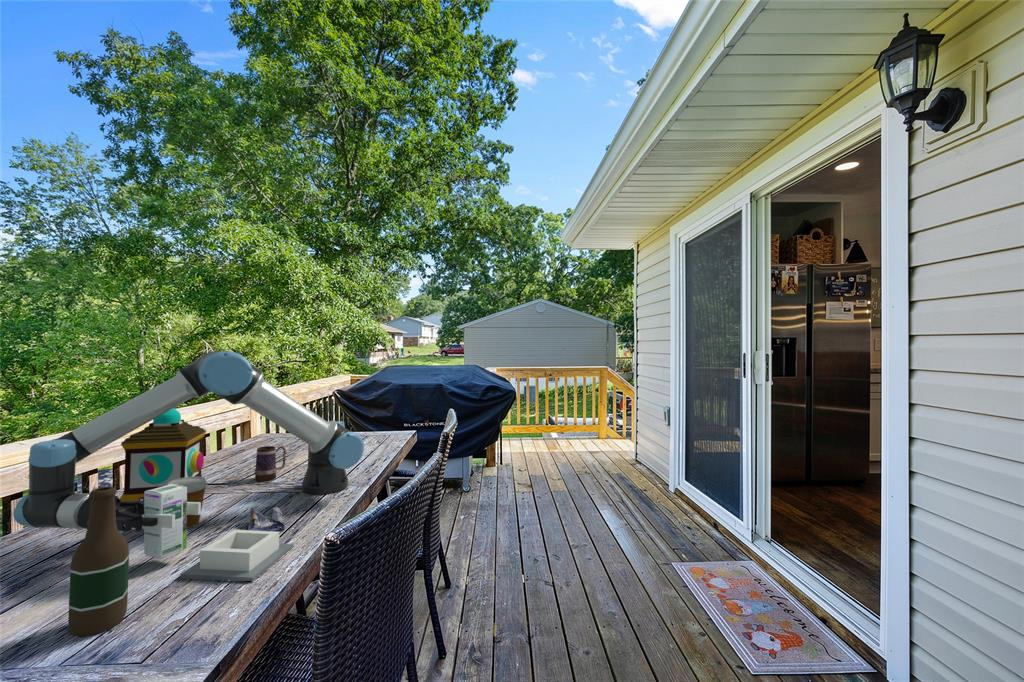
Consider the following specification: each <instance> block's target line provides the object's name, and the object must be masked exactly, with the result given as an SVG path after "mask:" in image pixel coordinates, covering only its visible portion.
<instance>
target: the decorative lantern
mask: <svg viewBox="0 0 1024 682" xmlns="http://www.w3.org/2000/svg"><path fill="white" fill-rule="evenodd" d="M206 433H207V430H206V429H204V428H203V427H201V426H200V425H193V424H191V423H190V424H189V422H187V421H185V419H182V415H181V412H180V411H178V409H176V407H174V408H173V409H171V410H169V411H167V412H166V413H164V414H162V415H160V416H158V417H157V418H155V419H153V420H152V422H151V423H150V422H149V423H148V426H145V427H144V429H141V430H140V431H138V432H135V433H133V434H131V435H130V436H128V437H127V438H124V440H123V441H121V443H120V445H121V447H122V449H123V450H124V453H125V455H124V456H125V457H124V478H123V480H124V483H123V493H122V495H121V496H120V497H119V499H120V500H121V501H139V498H141V497H144V492H145V491H148V490H152V489H155V488H159V487H163V486H167V483H168V482H170V481H172V480H175V479H180V478H186V477H203V475H202V468H203V467H204V461H205V459H204V458H205V457H204V455H203V439H204V437H205V435H206Z"/></svg>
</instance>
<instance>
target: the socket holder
mask: <svg viewBox="0 0 1024 682" xmlns="http://www.w3.org/2000/svg"><path fill="white" fill-rule="evenodd" d="M294 546H295V544H292V543H291V544H289V543H280V531H278V532H274V531H253V530H247V529H234V530H232V531H230V532H229V533H227V534H225V535H224V536H222V537H220V538H219V539H217V540H216V541H214V542H212V543H210V544H208V545H207V546H205V547H204V548H202V549H200V550H199V561H198V562H197V563H195V564H193V565H192V566H191V567H189V568H187V569H186V570H184V571H182V572H181V573H180V576H179V577H180V579H181V580H198V581H199V580H200V581H201V580H202V581H217V580H230V581H229V582H236V581H254V580H255V579H256V578H257V577H258V576H259V575H261V574H262V573H263V572H264V571H266V570H267V569H268V568H270V567H271V566H272V565H273V564H274V563H275V562H276V561H278V560H279V559H280V558H281V557H282V556H283V555H285V554H286V553H287V552H288V551H290V550H291V549H292V548H293V547H294ZM294 548H295V547H294ZM291 551H292V550H291ZM291 551H290V552H291ZM285 556H286V555H285ZM280 560H281V559H280ZM280 560H279V561H280ZM279 561H278V562H279ZM274 565H275V564H274ZM274 565H273V566H274ZM273 566H272V567H273ZM272 567H271V568H272ZM271 568H270V569H271ZM268 570H269V569H268ZM268 570H267V571H268ZM267 571H266V572H267ZM263 574H264V573H263ZM263 574H262V575H263ZM262 575H261V576H262ZM257 579H258V578H257ZM257 579H256V580H257ZM256 580H255V581H256ZM255 581H254V582H255Z"/></svg>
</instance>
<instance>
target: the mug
mask: <svg viewBox="0 0 1024 682" xmlns="http://www.w3.org/2000/svg"><path fill="white" fill-rule="evenodd" d="M280 449H282V450H283V455H282V465H281V466H280V467H277V465H276V464H277V461H276V459H277V457H276V455H277V454H276V453H277V452H278V451H279V450H280ZM255 453H256V458H255V459H256V460H255V468H254V481H255V482H261V483H265V482H271V481H274V480H275V479H276V478H277V471H279V470H282V469H283V468H285V465H286V454H287V448H286V446H285V445H283V444H282V445H279V446H278V447H277V448H276V446H273V445H267V446H260V447H257V449H256V452H255Z"/></svg>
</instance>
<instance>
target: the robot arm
mask: <svg viewBox="0 0 1024 682" xmlns="http://www.w3.org/2000/svg"><path fill="white" fill-rule="evenodd" d="M263 372H264V371H262V370H260V369H259V368H258V367H256V366H254V364H252V363H250V362H249V360H248V359H247V358H246V357H245V356H243V355H242V354H240V353H238V352H234V351H229V350H214V351H210V352H207V353H205V354H203V355H202V356H200V357H199V358H197V359H195V360H194V361H192V362H191V363H189V364H188V365H186V366H184V367H183V368H181V369H178V370H177V371H176V374H175V376H173V377H171V378H170V379H167V380H166V381H164V382H162V383H160V384H158V385H156V386H154V387H152V388H150V389H149V390H147V391H145V392H143V393H141V394H139V395H137V396H135V397H133V398H131V399H130V400H128V401H126V402H124V403H122V404H120V405H118V406H116V407H114V408H112V409H110V410H108V411H106V412H105V413H103V414H101V415H99V416H97V417H95V418H94V419H93V418H92V420H90V421H88V422H86V423H84V424H82V425H80V426H78V427H77V428H75V429H72V430H71V431H69V432H68V433H65V434H64V435H62V436H60V437H58V438H54V439H51V440H44V441H40V442H37V443H34V444H32V445H31V446H30V448H29V455H28V456H29V457H28V460H27V461H28V484H29V485H28V494H26V495H24V496H23V497H22V498H20V499H19V500H18V501H17V503H16V506H15V508H13V511H12V512H13V513H12V514H13V515H12V516H13V519H14V521H15V522H16V523H17V524H18V525H21V526H26V527H33V528H38V529H42V528H59V529H60V528H61V529H62V528H63V529H76V530H77V531H81V530H82V529H84V530H87V528H88V520H89V511H90V503H91V498H89V494H90V493H86V492H85V493H81V492H79V493H77V492H75V486H76V481H75V480H76V467H77V466H76V465H77V463H79V462H80V461H82V460H84V459H86V458H88V457H89V456H91V455H93V454H94V453H96V452H98V451H99V450H101V449H103V448H105V447H106V446H108V445H110V444H111V443H113V442H115V441H117V440H119V439H121V438H122V437H125V436H126V435H128V434H130V433H131V432H134V431H135V430H137V429H139V428H141V427H142V426H144V425H146V424H147V423H148V424H149V423H150V422H152V421H153V419H155V418H157V417H158V416H160V415H162V414H164V413H166V412H167V411H169V410H171V409H173V408H176V407H178V406H180V405H181V404H184V403H185V402H187V401H188V400H191V399H193V398H195V399H200V398H202V397H203V396H205V395H207V394H209V393H213V394H215V395H217V396H218V397H220V398H222V399H224V400H225V401H227V402H228V403H229V404H231V405H235V406H236V405H240V404H243V405H245V407H248V408H249V409H251V410H252V411H254V412H256V413H257V414H259V415H261V416H262V417H264V418H265V419H267V420H268V421H270V422H272V423H273V424H275V425H277V426H279V427H280V428H282V429H283V430H285V431H287V432H288V433H290V434H291V435H293V436H295V437H296V438H298V439H300V440H301V441H302V442H304V443H306V444H307V446H308V447H307V468H306V471H305V473H304V476H303V480H302V482H301V491H302V493H305V494H310V495H327V493H328V494H333V493H332V492H334V493H338V492H340V490H341V491H343V489H344V490H346V489H347V488H348V487H347V486H349V478H348V475H347V474H348V473H347V471H346V469H349V468H352V467H354V466H355V465H357V464H358V463H359V461H360V460H361V459H362V457H363V455H364V451H365V442H364V440H363V438H362V437H361V436H360V435H359V434H358V433H356V432H354V431H350V429H348V428H346V426H345V422H344V421H341V420H340V421H338V420H337V421H336V420H330V421H327V420H325V419H324V418H322V417H321V416H320V415H318V414H316V413H315V412H313V411H312V410H310V409H309V408H307V407H306V406H304V405H303V404H302V403H300V402H298V401H297V400H295V399H294V398H292V397H291V396H289V395H288V394H287V393H285V392H284V391H282V390H280V389H279V388H277V387H276V386H274V385H273V384H272V383H270V382H269V381H267V380H265V377H264V373H263ZM346 487H347V488H346ZM337 491H338V492H337ZM115 510H116V524H117V529H118V531H119V532H124V533H125V532H132V531H133V529H134V530H135V531H134V532H136V533H139V532H142V531H143V528H144V527H156V528H173V527H175V514H151V513H147V514H144V497H141V498H139V501H121V500H120V497H118V496H117V495H115ZM201 512H202V509H201V502H187V515H199V514H201Z"/></svg>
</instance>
